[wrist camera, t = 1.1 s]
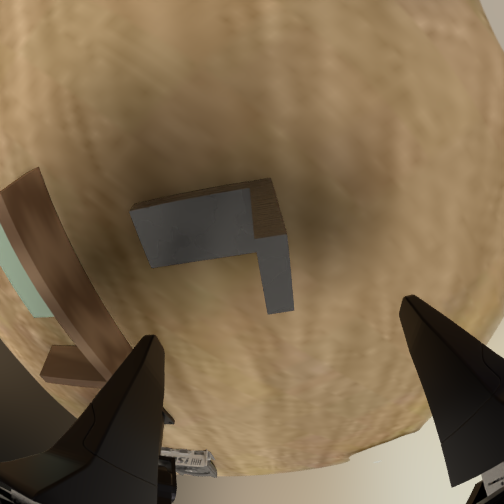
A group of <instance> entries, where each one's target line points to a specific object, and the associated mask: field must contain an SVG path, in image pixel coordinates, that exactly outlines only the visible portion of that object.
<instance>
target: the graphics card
mask: <svg viewBox="0 0 504 504" xmlns="http://www.w3.org/2000/svg"><path fill="white" fill-rule="evenodd" d="M161 455H162V456H167V457H174V458H175V466H176V472H177V473H179V474H180V475H184V474H187V475H193V476H212V477H214V478H215V477H217V470H216V468H215V467H214V466H213V464H212V463H211V462H210V461H209V460H211V459H213V460H215V459H214V457H213V455H212V454H211V452H209V451H207V449H206V451H195V450H187V449H180V450H179V449H170V448H164V447H161Z"/></svg>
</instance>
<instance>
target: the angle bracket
mask: <svg viewBox="0 0 504 504" xmlns="http://www.w3.org/2000/svg"><path fill="white" fill-rule="evenodd" d="M129 213H130V216H131V218H132V221H133V223H134V226H135V229H136V231H137V234H138V236H139V239H140V241H141V244H142V246H143V249H144V251H145V254H146V256H147V259H148V261H149V263H150V266H151V268H156V267H162V266H169V265H175V264H182V263H189V262H195V261H202V260H208V259H215V258H222V257H228V256H235V255H241V254H248V253H254V252H257V257H258V263H259V268H260V274H261V279H262V285H263V291H264V296H265V302H266V308H267V313H268V314H274V313H281V312H288V311H294V301H293V290H292V279H291V268H290V258H289V248H288V238H287V232H286V228H285V225H284V221H283V218H282V214H281V211H280V207H279V204H278V200H277V197H276V194H275V190H274V187H273V183H272V180H271V178H267V179H260V180H254V181H247V182H241V183H235V184H229V185H224V186H218V187H213V188H207V189H202V190H197V191H192V192H187V193H182V194H177V195H172V196H167V197H162V198H158V199H153V200H149V201H144V202H140V203H136V204H134V205H133V206H132V208H131V209H130V211H129Z"/></svg>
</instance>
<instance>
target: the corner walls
mask: <svg viewBox="0 0 504 504" xmlns="http://www.w3.org/2000/svg"><path fill="white" fill-rule="evenodd" d="M0 224H1V226H2V228H3V230H4V232H5V234H6V236H7V238H8V240H9V242H10V244H11V246H12V248H13V250H14V252H15V254H16V256H17V257H18V259H19V261H20V263H21V265H22V266H23V268H24V270H25V272H26V273H27V275H28V277H29V278H30V280H31V282H32V283H33V285H34V286H35V288H36V290H37V291H38V293H39V294H40V296H41V297H42V299H43V301H44V302H45V304H46V305H47V306H48V308H49V309H50V311H51V312H52V314H53V315H54V317H55V318H56V319H57V321H58V322H59V324H60V325H61V326H62V328H63V329H64V330H65V332H66V333H67V334H68V336H69V337H70V338H71V339H72V341H73V342H74V343H75V345H76V346H55V345H52V347H51V350H50V352H49V354H48V356H47V359H46V361H45V363H44V366H43V368H42V370H41V373H40V376H41V377H42V378H43V379H44V380H45V381H46V382H48V383H55V384H62V385H71V386H80V387H91V388H103V386H104V385H105V384H106V383H107V381H108V380H109V379H110V378H111V376H112V375H113V374H114V372H115V371H116V370H117V369H118V367H119V366H120V365H121V364H122V362H123V361H124V360H125V359H126V357H127V356H128V355H129V354H130V352H131V351H132V350H133V349H132V348H131V346H130V345H129V344H128V342H127V341H126V339H125V338H124V336H123V335H122V333H121V332H120V330H119V329H118V327H117V326H116V324H115V322H114V321H113V319H112V318H111V316H110V315H109V313H108V311H107V310H106V308H105V306H104V305H103V303H102V301H101V300H100V298H99V296H98V295H97V293H96V291H95V289H94V288H93V286H92V284H91V282H90V281H89V279H88V277H87V275H86V273H85V271H84V270H83V268H82V266H81V264H80V262H79V260H78V258H77V256H76V254H75V252H74V250H73V248H72V246H71V244H70V242H69V240H68V238H67V236H66V234H65V231H64V229H63V227H62V225H61V223H60V220H59V218H58V216H57V213H56V211H55V209H54V206H53V204H52V202H51V199H50V197H49V194H48V192H47V189H46V186H45V184H44V181H43V178H42V176H41V173H40V170H39V167H37V168H35V169H33V170H31V171H29V172H27V173H25V174H24V175H23V176H21V177H20V178H18V179H17V180H15V181H14V182H12V183H11V184H10V185H8V186H7V187H6V188H4V189H3V190H1V191H0Z"/></svg>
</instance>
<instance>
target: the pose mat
mask: <svg viewBox="0 0 504 504" xmlns="http://www.w3.org/2000/svg"><path fill="white" fill-rule="evenodd" d="M0 266H1V267H2V269H3V271H4V273H5V274H6V276H7V278H8V279H9V281H10V283H11V284H12V286H13V287H14V289H15V290H16V292H17V294H18V295H19V297H20V298H21V300H22V301H23V303H24V304H25V306H26V307H27V308H28V310H29V311H30V313H31V314H32V315H33V317H34V318H36V317H54V315H53V314H52V312H51V311H50V309H49V308H48V306H47V305H46V304H45V302H44V301H43V299H42V297H41V296H40V294H39V293H38V291H37V290H36V288H35V286H34V285H33V283H32V282H31V280H30V278H29V277H28V275H27V273H26V272H25V270H24V268H23V266H22V265H21V263H20V261H19V259H18V257H17V256H16V254H15V252H14V250H13V248H12V246H11V244H10V242H9V240H8V238H7V236H6V234H5V232H4V230H3V228H2V226H1V224H0Z"/></svg>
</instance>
